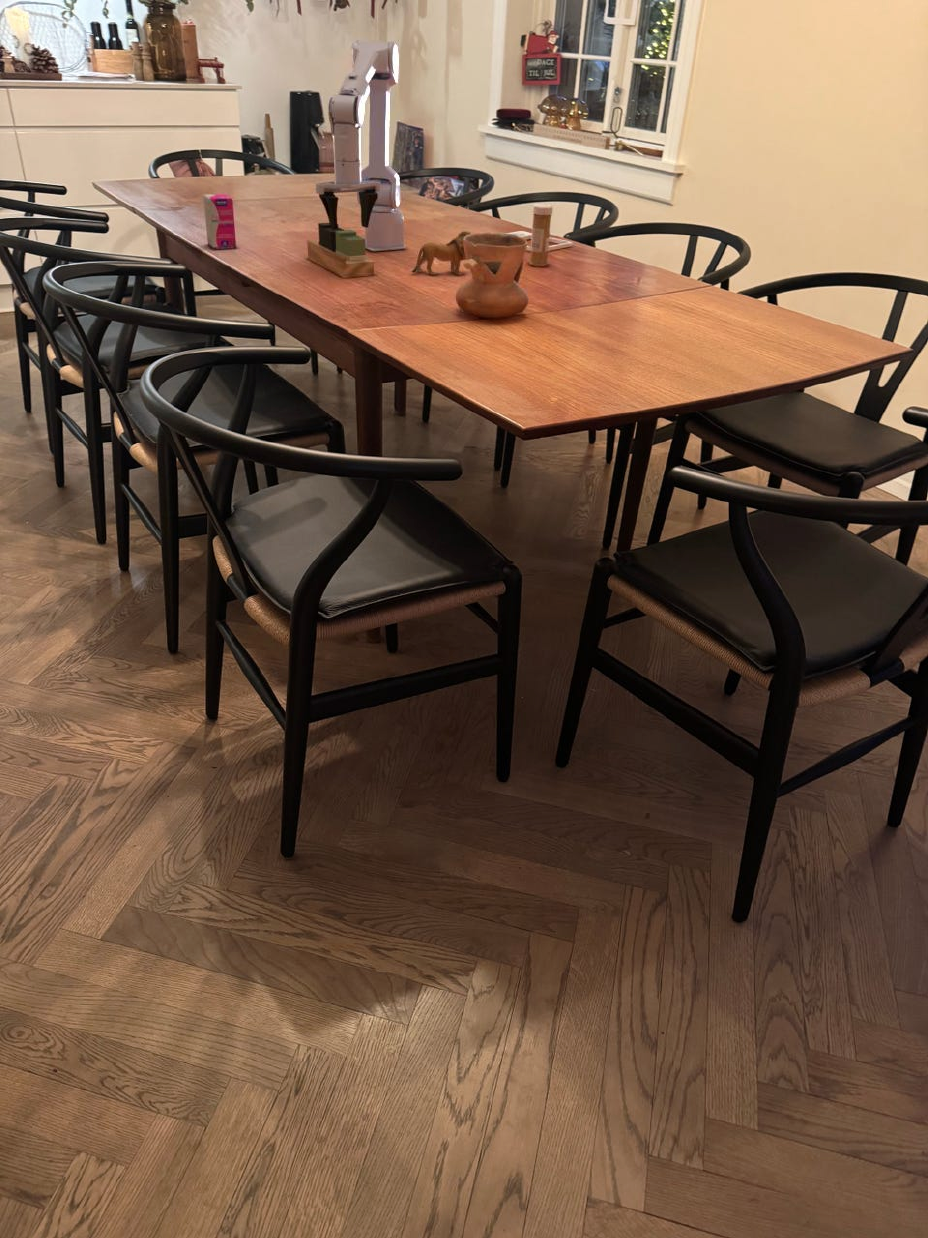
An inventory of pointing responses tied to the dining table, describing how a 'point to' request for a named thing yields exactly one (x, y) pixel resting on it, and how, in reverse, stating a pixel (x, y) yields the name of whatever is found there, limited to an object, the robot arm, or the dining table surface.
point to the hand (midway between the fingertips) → (349, 227)
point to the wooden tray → (339, 262)
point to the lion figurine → (443, 254)
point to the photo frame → (561, 242)
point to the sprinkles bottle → (540, 234)
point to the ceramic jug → (493, 275)
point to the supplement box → (219, 221)
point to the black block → (328, 236)
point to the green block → (350, 245)
